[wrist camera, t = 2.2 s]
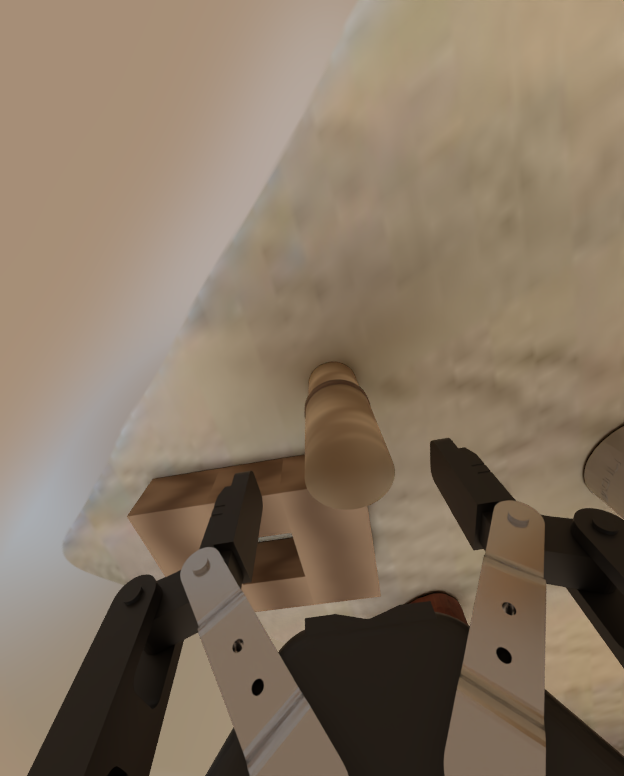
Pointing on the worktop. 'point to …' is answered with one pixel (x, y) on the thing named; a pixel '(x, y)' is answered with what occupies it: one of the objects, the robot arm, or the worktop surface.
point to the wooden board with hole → (279, 516)
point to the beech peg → (343, 442)
